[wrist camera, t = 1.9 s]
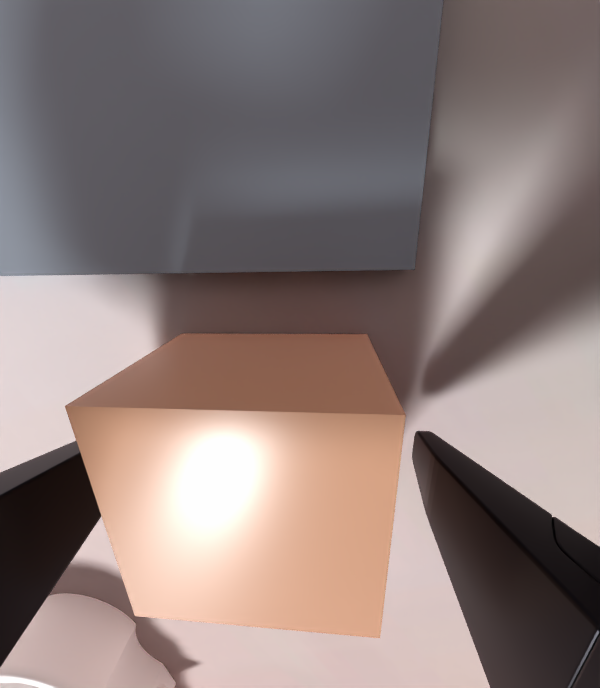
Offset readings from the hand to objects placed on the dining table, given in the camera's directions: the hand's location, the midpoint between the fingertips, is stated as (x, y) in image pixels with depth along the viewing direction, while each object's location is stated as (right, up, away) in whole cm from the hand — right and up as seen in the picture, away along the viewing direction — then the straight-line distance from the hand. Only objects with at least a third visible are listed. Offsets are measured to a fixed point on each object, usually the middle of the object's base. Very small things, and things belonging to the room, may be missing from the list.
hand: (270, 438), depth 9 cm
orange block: (0, 0, +1) cm, 1 cm away
